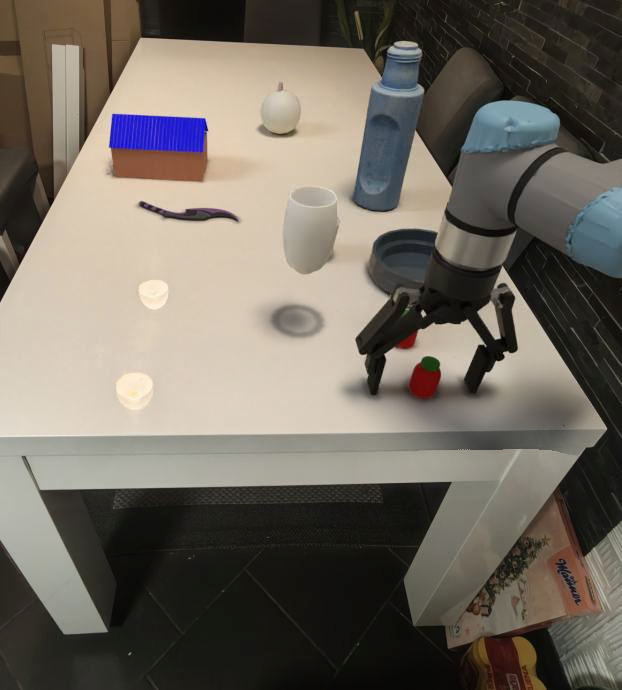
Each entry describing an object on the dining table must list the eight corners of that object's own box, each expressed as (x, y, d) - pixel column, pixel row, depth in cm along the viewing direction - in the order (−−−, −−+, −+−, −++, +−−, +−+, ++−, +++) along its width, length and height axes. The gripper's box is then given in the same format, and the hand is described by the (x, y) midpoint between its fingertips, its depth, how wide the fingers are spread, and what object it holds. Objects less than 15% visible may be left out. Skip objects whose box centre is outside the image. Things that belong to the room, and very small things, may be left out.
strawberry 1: (419, 342, 82) (427, 315, 78) (404, 352, 80) (412, 325, 76) (399, 329, 84) (407, 303, 80) (384, 339, 82) (391, 313, 79)
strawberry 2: (440, 390, 74) (450, 363, 71) (424, 402, 72) (434, 376, 69) (418, 375, 76) (427, 349, 73) (402, 387, 74) (411, 360, 71)
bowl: (489, 281, 94) (498, 259, 91) (429, 320, 86) (436, 297, 83) (408, 240, 104) (414, 219, 101) (347, 271, 95) (351, 248, 92)
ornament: (258, 124, 147) (260, 77, 139) (296, 125, 148) (300, 77, 140) (261, 139, 139) (263, 89, 131) (301, 139, 140) (306, 90, 132)
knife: (139, 203, 111) (133, 216, 108) (139, 199, 111) (133, 212, 107) (240, 212, 110) (237, 225, 107) (240, 208, 110) (237, 222, 106)
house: (203, 182, 120) (202, 128, 112) (112, 177, 120) (105, 123, 112) (209, 159, 129) (208, 108, 121) (124, 155, 129) (118, 104, 121)
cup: (293, 300, 88) (306, 178, 75) (330, 319, 85) (351, 195, 71) (265, 321, 84) (274, 196, 70) (304, 342, 81) (321, 215, 67)
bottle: (405, 198, 117) (443, 42, 97) (387, 216, 111) (423, 53, 91) (364, 186, 121) (392, 33, 101) (344, 203, 114) (370, 43, 94)
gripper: (561, 236, 64) (499, 366, 78) (349, 235, 62) (325, 369, 76) (595, 272, 58) (521, 406, 72) (363, 273, 57) (334, 409, 71)
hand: (420, 387), depth 74 cm, fingers open, 13 cm apart
